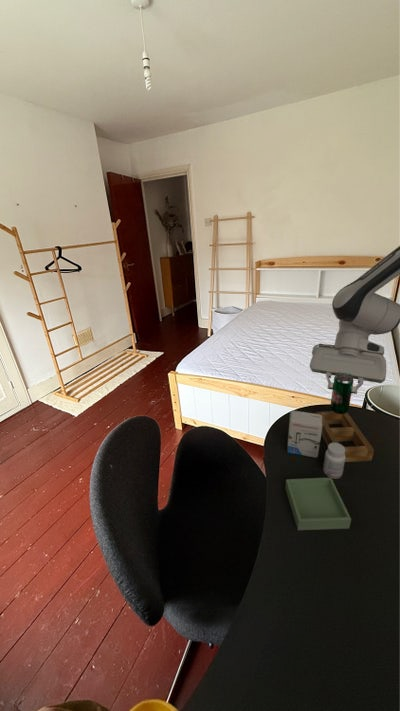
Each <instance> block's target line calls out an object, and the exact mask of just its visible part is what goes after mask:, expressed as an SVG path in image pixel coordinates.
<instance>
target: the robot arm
mask: <svg viewBox="0 0 400 711" xmlns="http://www.w3.org/2000/svg"><path fill="white" fill-rule="evenodd" d="M398 276H400V245H399V246H397V247H396V248H395V249H394V250H392V251H391V252H389V253H388V254H387V255H386V256H385V257H382V259H380V260H379V261H378V262H377V263H375V265H373V266H372V267H370V268H369V269H368V270H367V271H365V273H363V274H361V275H360V276H359V277H358V278H356V279H355V280H353V281H351V282H350V283H349V284H347V285H345V286H344V287H342V288H340V289H339V290H338V291H337V293H335V294H334V297H333V299H332V303H331V306H332V311H333V314H334V316H335V317H336V319H338V331H337V333H336V335H335V339H334V344H328V343H327V344H325V343H318V344H315V345H314V346H313V347H312V350H311V355H312V356H311V360H310V362H309V370H310V371H311V372H312V373H317V374H321V375H322V374H323V375H325V379H326V382H327V389H328V390H333V383H334V382H332V381H331V378H332V376H334V377H335V376H336V374H337V373H339V372H341V373H347V374H351V375H352V376H353V380H357V383H356V386H355V385H353V387H352V391H351V394H353V395H357V394H358V391H359V389H360V388H361V387H362V386H363V385H364V382H370V383H377V384H382V383H384V382H385V381H386V378H387V360H386V357H385V356H384V355H385V347H384V346H383V345H380V344H379V343H375V342H373V341H371V340H369V337H370V336H371V335H374V336H375V335H377V336H378V335H384V334H388V333H390V332H392V331H394V330H396V329H397V327H398V326H399V325H400V303H398V302H397V301H395V300H392V299H391V298H388V297H386V296H383V295H381V294H378V293H377V292H378V291H379V290H381V289H382V288H383V287H384V286H386V285H388V284H389V283H390V282H392V281H393V280H394V279H395V278H397V277H398Z"/></svg>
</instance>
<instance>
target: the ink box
mask: <svg viewBox="0 0 400 711" xmlns="http://www.w3.org/2000/svg"><path fill="white" fill-rule="evenodd" d="M322 426H323V425H322V415H320V414H316V413H312V412H306V411H299V410H291V411H290V414H289V422H288V432H287V433H288V434H287V448H286V451H287V453H289V454H292V455H300V456H304V457H305V456H306V457H311V458H316V459H317V458H319V453H320V452H319V450H320V445H321V439H322V435H321V433H322Z"/></svg>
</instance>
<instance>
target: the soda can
mask: <svg viewBox="0 0 400 711" xmlns="http://www.w3.org/2000/svg"><path fill="white" fill-rule="evenodd" d="M354 380H355V379H353V376H352V375H351V374H347V373H341V372H339V373H337V374H336V376H334V377H333V382H332V383H333V390H332V389H331V390H332V391H331V398H330V406H329V408H330V410H331V411H333V412H335V413H337V414H345V413H348V412H349V410H350V404H351V399H352V393H351V391H352V387H353V386H354Z"/></svg>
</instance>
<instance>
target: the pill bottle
mask: <svg viewBox="0 0 400 711" xmlns="http://www.w3.org/2000/svg"><path fill="white" fill-rule="evenodd" d="M344 447H345V446H344V445H342V444H341V443H340V442H339V443H330V444H329V445H328V446H327V449H326V450H325V453H324V459H323V460H324V461H323V465H322V471H323V473H324V474H325V475H326V476H327V478H332V479H340V478H342V476H343V473H344V468H345V463H346V462H345V448H344Z"/></svg>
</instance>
